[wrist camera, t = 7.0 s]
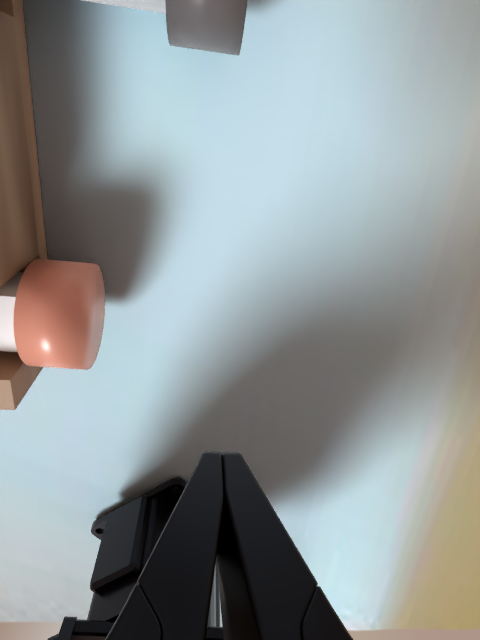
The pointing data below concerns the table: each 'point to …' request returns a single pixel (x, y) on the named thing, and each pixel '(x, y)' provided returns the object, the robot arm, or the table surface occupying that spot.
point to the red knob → (53, 314)
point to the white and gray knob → (197, 22)
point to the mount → (17, 184)
